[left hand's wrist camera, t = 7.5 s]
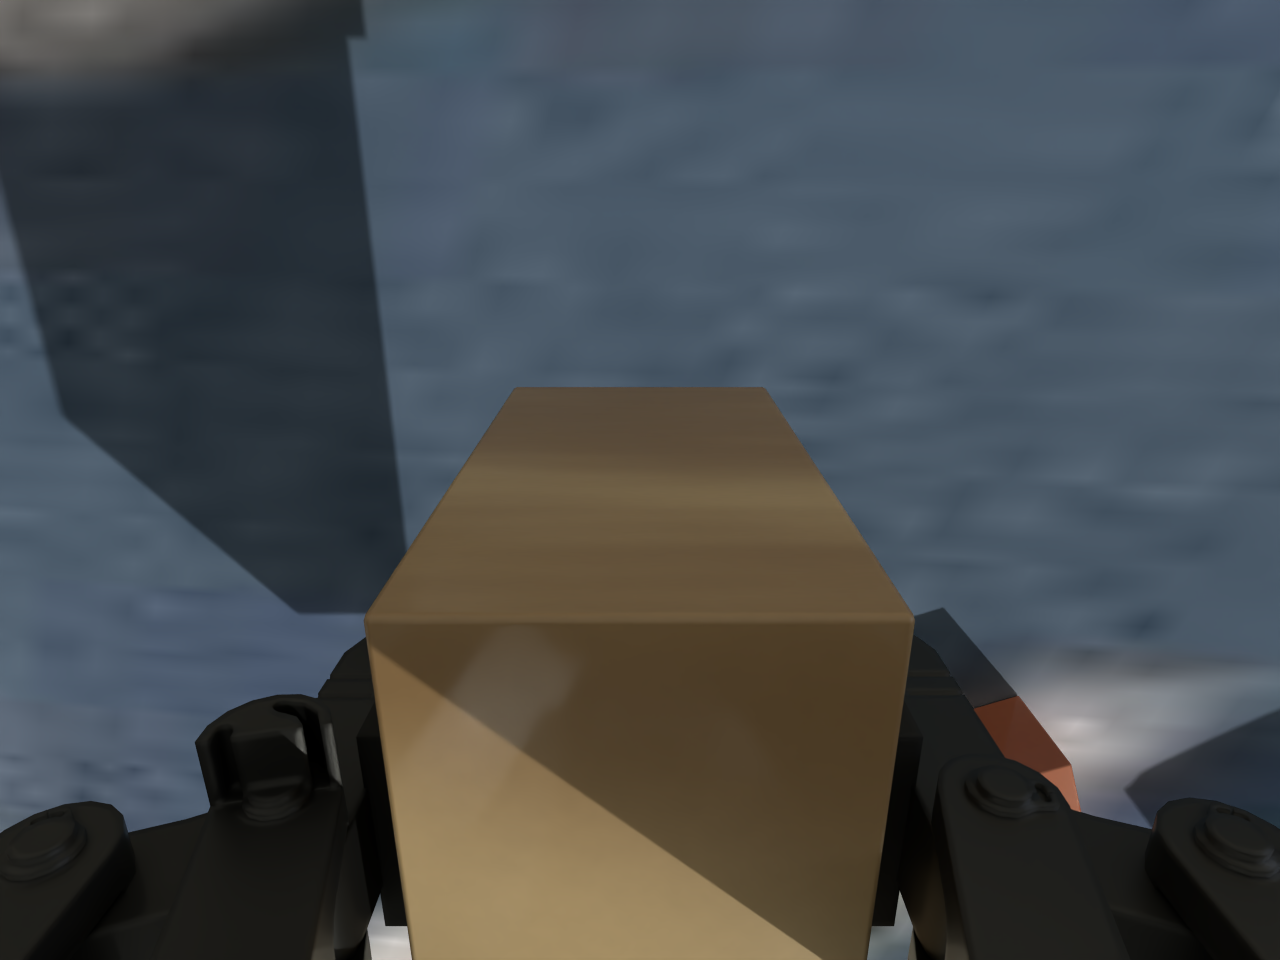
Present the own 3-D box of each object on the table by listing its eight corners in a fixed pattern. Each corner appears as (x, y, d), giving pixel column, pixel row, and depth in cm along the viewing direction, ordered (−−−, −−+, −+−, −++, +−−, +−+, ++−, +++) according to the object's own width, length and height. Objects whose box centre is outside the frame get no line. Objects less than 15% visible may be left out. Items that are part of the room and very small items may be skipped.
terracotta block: (1018, 694, 31) (1071, 764, 27) (1035, 770, 32) (1088, 847, 28) (920, 723, 31) (958, 795, 27) (941, 797, 32) (981, 875, 29)
